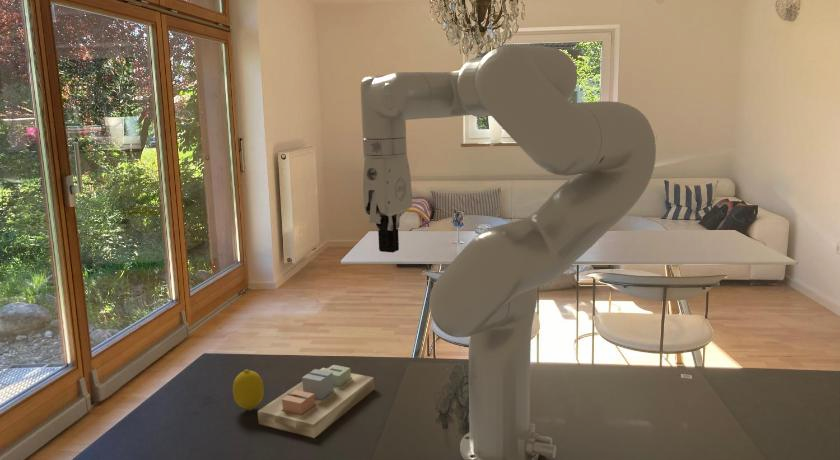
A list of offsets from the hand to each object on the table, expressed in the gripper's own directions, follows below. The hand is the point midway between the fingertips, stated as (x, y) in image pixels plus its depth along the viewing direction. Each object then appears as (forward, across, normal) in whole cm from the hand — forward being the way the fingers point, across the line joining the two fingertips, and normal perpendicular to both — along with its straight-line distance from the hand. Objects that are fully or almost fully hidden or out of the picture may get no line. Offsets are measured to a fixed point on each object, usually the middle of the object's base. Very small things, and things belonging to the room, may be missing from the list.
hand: (389, 250), depth 115 cm
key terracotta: (+29, -13, +12) cm, 34 cm away
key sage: (+29, -1, +12) cm, 31 cm away
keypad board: (+29, -8, +12) cm, 32 cm away
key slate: (+27, -7, +12) cm, 31 cm away
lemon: (+29, -14, +23) cm, 40 cm away
